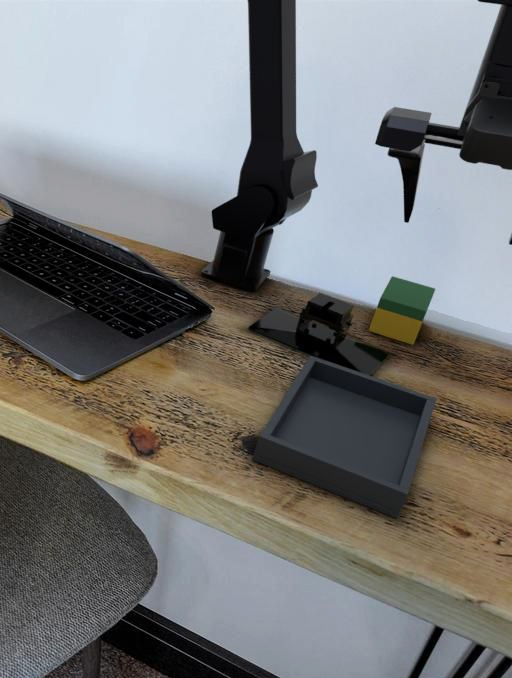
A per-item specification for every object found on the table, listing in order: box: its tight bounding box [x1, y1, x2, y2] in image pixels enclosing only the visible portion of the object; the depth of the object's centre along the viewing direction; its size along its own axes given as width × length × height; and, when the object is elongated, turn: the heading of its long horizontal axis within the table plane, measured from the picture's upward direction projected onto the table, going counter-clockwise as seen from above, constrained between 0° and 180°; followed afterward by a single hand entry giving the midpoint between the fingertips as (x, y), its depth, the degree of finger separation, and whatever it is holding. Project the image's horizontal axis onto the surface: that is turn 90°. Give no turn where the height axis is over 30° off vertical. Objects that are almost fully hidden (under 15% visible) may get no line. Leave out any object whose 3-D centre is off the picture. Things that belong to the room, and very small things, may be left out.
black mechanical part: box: [247, 292, 392, 376], centre depth 82 cm, size 12×7×5 cm, turn 49°
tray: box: [251, 356, 437, 519], centre depth 68 cm, size 16×11×2 cm
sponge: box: [368, 275, 436, 346], centre depth 87 cm, size 7×4×4 cm, turn 148°
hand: (457, 232), depth 79 cm, fingers open, 9 cm apart
